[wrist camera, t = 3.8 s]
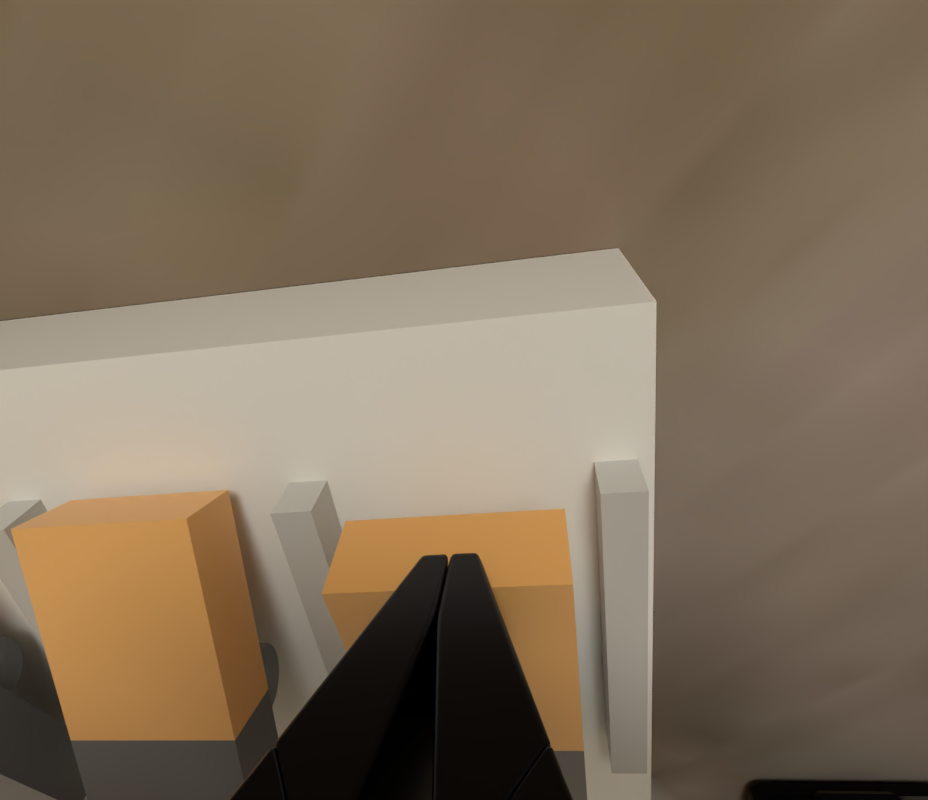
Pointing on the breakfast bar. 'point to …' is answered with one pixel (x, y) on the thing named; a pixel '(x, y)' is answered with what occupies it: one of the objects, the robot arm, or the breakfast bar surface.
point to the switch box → (364, 447)
